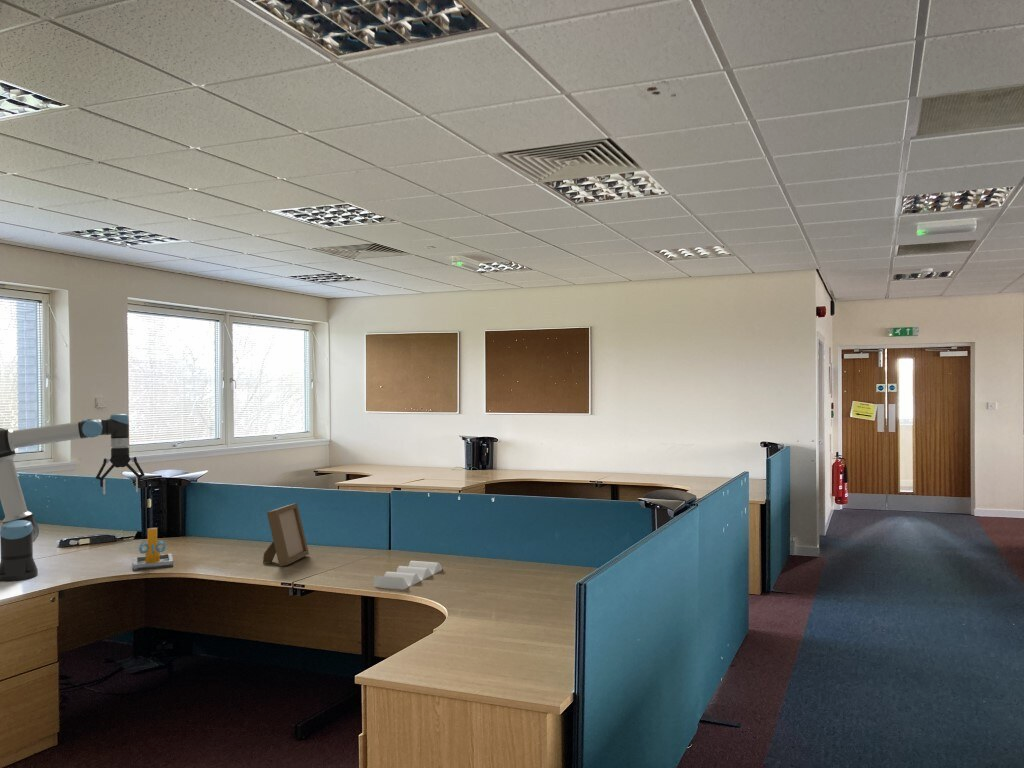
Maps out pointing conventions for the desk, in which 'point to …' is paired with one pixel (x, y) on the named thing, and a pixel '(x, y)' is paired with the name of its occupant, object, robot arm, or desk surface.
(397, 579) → the white zigzag rack
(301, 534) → the photo frame
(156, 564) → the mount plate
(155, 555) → the orange block with rings
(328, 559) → the desk surface
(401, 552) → the desk surface
